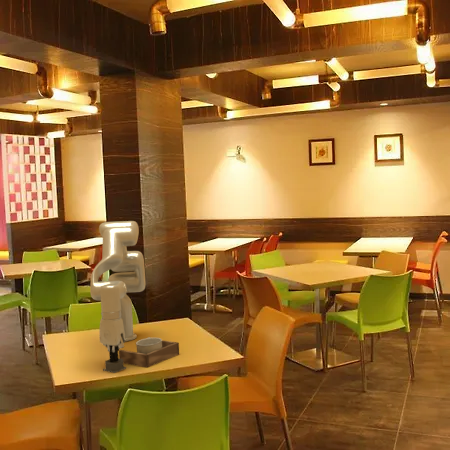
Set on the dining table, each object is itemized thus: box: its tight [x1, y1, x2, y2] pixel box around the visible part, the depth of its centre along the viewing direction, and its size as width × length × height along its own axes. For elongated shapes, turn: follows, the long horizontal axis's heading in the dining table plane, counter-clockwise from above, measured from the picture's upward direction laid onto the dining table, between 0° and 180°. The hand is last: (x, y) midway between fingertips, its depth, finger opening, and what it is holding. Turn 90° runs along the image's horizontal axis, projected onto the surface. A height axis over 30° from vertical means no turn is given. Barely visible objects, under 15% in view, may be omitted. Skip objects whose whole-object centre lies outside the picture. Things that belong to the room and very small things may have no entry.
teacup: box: [135, 336, 163, 354], centre depth 247 cm, size 14×11×8 cm
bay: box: [118, 339, 180, 368], centre depth 247 cm, size 15×20×5 cm
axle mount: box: [102, 366, 127, 374], centre depth 234 cm, size 6×6×3 cm
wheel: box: [104, 357, 125, 371], centre depth 234 cm, size 7×7×3 cm
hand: (114, 361), depth 233 cm, fingers closed
